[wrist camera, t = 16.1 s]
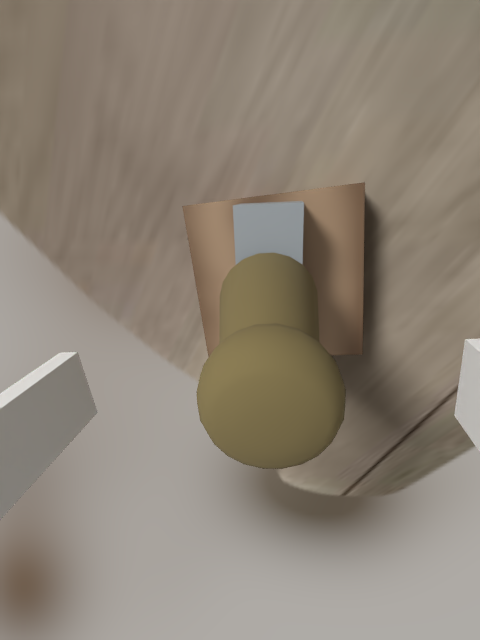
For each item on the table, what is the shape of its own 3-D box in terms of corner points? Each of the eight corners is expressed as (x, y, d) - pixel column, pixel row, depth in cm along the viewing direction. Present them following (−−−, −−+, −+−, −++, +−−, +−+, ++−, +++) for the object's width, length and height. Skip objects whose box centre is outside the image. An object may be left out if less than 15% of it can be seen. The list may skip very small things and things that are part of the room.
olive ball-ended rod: (251, 357, 22) (238, 516, 12) (200, 283, 20) (134, 399, 10) (334, 317, 20) (401, 462, 10) (288, 232, 18) (316, 308, 8)
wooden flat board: (355, 183, 23) (364, 182, 20) (354, 335, 28) (362, 354, 24) (196, 204, 26) (182, 206, 22) (218, 341, 30) (209, 359, 27)
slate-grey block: (301, 201, 21) (303, 202, 18) (298, 351, 25) (299, 375, 22) (241, 203, 22) (232, 205, 18) (247, 350, 26) (241, 373, 22)
